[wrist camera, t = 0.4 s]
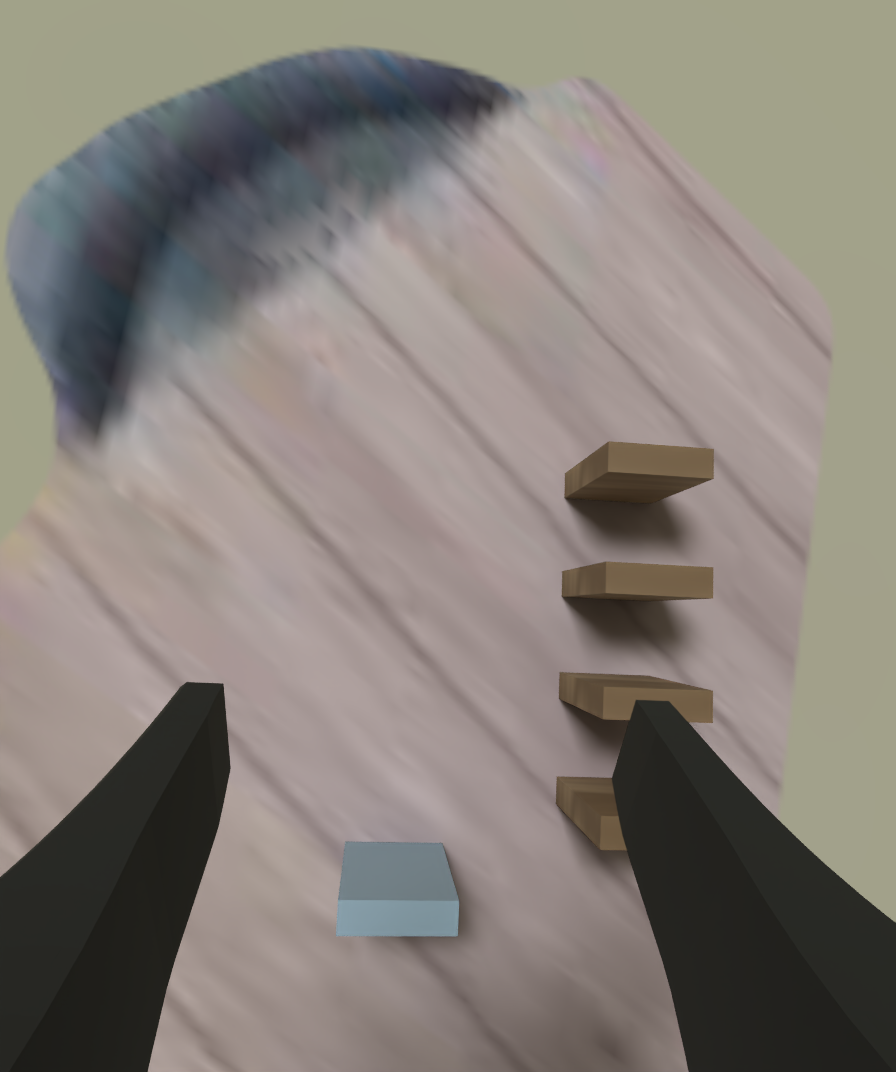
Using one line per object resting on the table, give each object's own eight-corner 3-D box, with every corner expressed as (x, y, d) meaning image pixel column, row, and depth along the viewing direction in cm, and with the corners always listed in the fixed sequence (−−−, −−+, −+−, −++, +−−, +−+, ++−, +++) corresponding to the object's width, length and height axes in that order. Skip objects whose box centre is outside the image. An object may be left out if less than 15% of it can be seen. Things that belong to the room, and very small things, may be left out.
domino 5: (648, 701, 39) (712, 723, 32) (559, 698, 39) (602, 719, 31) (648, 675, 39) (712, 690, 32) (559, 672, 39) (603, 686, 31)
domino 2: (646, 805, 38) (712, 851, 31) (556, 803, 38) (600, 850, 30) (647, 778, 39) (712, 818, 31) (556, 776, 38) (601, 816, 31)
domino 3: (651, 503, 40) (713, 478, 33) (564, 497, 40) (608, 471, 32) (651, 479, 40) (713, 449, 33) (565, 473, 40) (608, 441, 33)
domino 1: (440, 871, 37) (457, 936, 30) (343, 870, 36) (335, 935, 29) (442, 843, 37) (459, 900, 30) (345, 841, 37) (338, 900, 29)
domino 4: (649, 601, 40) (712, 598, 32) (561, 596, 39) (605, 593, 32) (650, 576, 40) (713, 567, 32) (562, 571, 39) (606, 561, 32)
